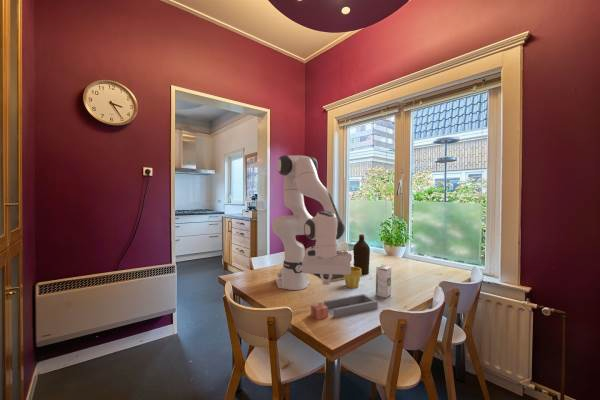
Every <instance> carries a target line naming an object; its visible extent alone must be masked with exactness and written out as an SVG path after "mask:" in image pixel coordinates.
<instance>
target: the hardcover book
mask: <svg viewBox="0 0 600 400" xmlns="http://www.w3.org/2000/svg"><path fill="white" fill-rule="evenodd" d="M314 275H315V276H317V277H319V278H320V274H314ZM323 278H324V279H328V278H329V274H323ZM341 280H342V281H343V280H345V278H344V275H342V274H332V278H331V280H330V283H331V282H337V281H341Z"/></svg>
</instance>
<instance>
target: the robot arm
mask: <svg viewBox="0 0 600 400" xmlns="http://www.w3.org/2000/svg"><path fill="white" fill-rule="evenodd" d="M276 169H277V172H278V174H280V175H282V176H284V178H283V205H284V206H285V207H286V208H287V209H289V210H291V212H292V213H293V214H292V215H282V216H276V217H275V218H274V219H273V220H272V223H271V224H272V225H271V228H272V232H273V233H274V234H275V235H276V236H277V237H279V239H280V240H281V242H282V244H283V248H284V251H283V252H284V259H283V261H282V263H283V265H282V268H280V270H279V271H278V272H277V274H276V275H277V277H276V278H275V279H274V281H275V283H276V286H277V288H278V289H285V290H289V291H299V290H303V289H306V288H307V287H308V286H309V285H311V281H309V278H308V277H309V274H314V275H315V274H320V277H321V278H320V277H319V278H320V279H321V281H322V285H324V286H325V285H326V286H329V285H330V284H331V282H330V280H331V278H332V274H342V275H349V274H350V273H351V267H352V266H351V264H352V263H351V262H352V260H353V258H352V257H353V255H352V253H350V252H349V251H347V250H346V251H345V250H342V251H341V250H338V242H337V241H338V240H339V239H341V238H342V236H343V235H344V233H345V231H346V228H345V223H344V222H343V220H342V218H341V216H340V215H339V211H338V210H337V207H336V205H335V203H334V201H333V198H332V195H331V193H330V192H329V189H328V188H327V187H326V186H325V185H324V184H323V183H322V182H321V180H320V178H319V175H318V161H317V159H316V157H313V156H308V155H307V156H306V155H299V154H297V155H280V157H278V159H277V162H276ZM304 196H305V197H308V198H311V199H313V200H315V201H317V202H319V203H320V204H321V205H322V208H323V210H320V211H318V212H316V215H315V216H313V215H311V214H310V213H309V211H308V210H307V207H306V205H305V198H304ZM296 236H306V238H307V239H309V240H312V241H315V245H313V246H310V247H309V246H308V247H307V248H305V246H304V244H303V243H302V242H300V241H298V240H297V238H296ZM323 274H329V278H328V279H324V278H323Z"/></svg>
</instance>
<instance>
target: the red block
mask: <svg viewBox="0 0 600 400" xmlns="http://www.w3.org/2000/svg"><path fill="white" fill-rule="evenodd" d="M310 315H311V316H312V317H313V318H314V319H315V320H317V321H318V320H323V319H326V318H328V317H329V312H328V307H327V306H325V305H324V303H323V302H318V303H314V304H311V305H310Z"/></svg>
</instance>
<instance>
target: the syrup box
mask: <svg viewBox="0 0 600 400" xmlns="http://www.w3.org/2000/svg"><path fill="white" fill-rule="evenodd" d="M375 272H376V275H375V296H377V297H381V298H385V299H387V298H389V296H391V295H392V266H390V265H386V264H385V265H384V264H380V265H378V266H376V269H375Z"/></svg>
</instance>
